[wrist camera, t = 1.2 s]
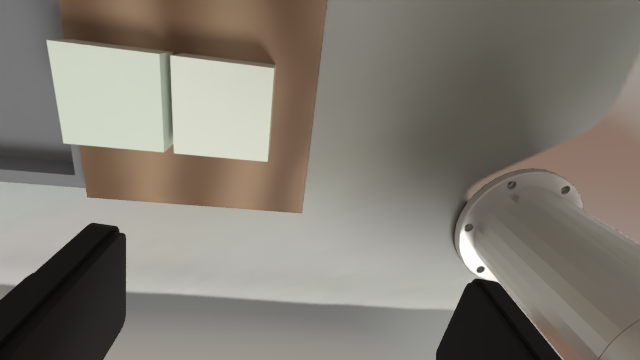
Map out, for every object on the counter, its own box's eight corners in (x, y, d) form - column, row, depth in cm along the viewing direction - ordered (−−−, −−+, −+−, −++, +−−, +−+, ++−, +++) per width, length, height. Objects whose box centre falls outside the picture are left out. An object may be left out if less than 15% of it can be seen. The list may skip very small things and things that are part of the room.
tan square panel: (322, -6, 25) (329, -14, 21) (300, 189, 32) (301, 213, 27) (92, -41, 24) (49, -57, 19) (115, 174, 30) (87, 197, 26)
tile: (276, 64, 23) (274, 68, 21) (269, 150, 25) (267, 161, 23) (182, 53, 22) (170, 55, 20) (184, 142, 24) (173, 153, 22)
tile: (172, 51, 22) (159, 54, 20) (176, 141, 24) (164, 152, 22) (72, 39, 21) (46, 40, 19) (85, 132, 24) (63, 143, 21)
